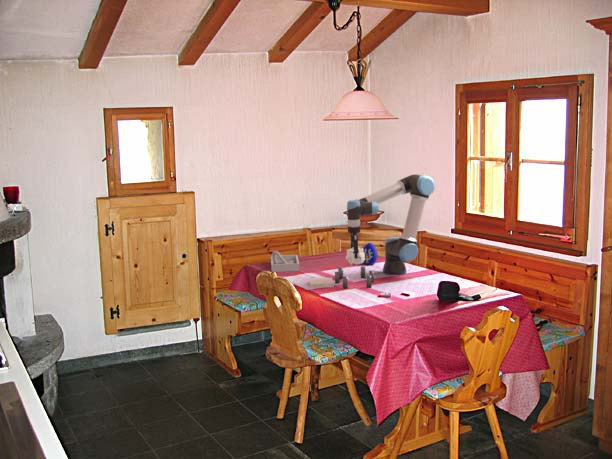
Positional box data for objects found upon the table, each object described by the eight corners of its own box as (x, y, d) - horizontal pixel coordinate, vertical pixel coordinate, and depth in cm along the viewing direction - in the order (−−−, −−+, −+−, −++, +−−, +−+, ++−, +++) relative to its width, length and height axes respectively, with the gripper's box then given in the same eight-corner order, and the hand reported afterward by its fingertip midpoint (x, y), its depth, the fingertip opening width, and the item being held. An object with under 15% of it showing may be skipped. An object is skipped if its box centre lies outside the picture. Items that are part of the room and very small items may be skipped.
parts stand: (331, 281, 427) (331, 277, 426) (333, 287, 413) (333, 283, 412) (308, 282, 426) (308, 278, 426) (310, 287, 412) (310, 283, 412)
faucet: (295, 263, 463) (280, 243, 473) (282, 270, 459) (266, 249, 469) (294, 276, 474) (279, 256, 484) (281, 282, 470) (265, 262, 480)
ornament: (359, 264, 473) (359, 243, 470) (365, 262, 480) (365, 241, 478) (374, 266, 467) (374, 244, 464) (380, 263, 475) (380, 242, 472)
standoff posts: (370, 276, 437) (370, 266, 436) (377, 287, 409) (377, 276, 408) (332, 278, 436) (332, 267, 434) (337, 289, 408) (337, 277, 407)
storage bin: (297, 261, 487) (297, 254, 486) (299, 271, 458) (299, 263, 457) (271, 262, 486) (271, 255, 485) (271, 272, 457) (271, 264, 456)
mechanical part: (358, 262, 428) (357, 243, 427) (368, 265, 418) (367, 246, 416) (342, 264, 424) (341, 245, 422) (351, 268, 413) (351, 248, 411)
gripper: (345, 223, 428) (346, 257, 432) (350, 229, 405) (351, 265, 408) (357, 222, 429) (358, 256, 432) (362, 229, 405) (363, 265, 409)
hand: (354, 261), depth 420 cm, fingers closed on mechanical part, 12 cm apart
